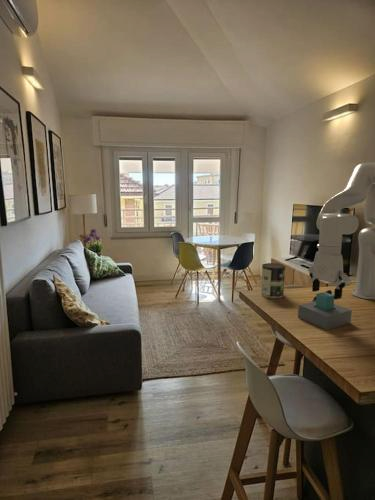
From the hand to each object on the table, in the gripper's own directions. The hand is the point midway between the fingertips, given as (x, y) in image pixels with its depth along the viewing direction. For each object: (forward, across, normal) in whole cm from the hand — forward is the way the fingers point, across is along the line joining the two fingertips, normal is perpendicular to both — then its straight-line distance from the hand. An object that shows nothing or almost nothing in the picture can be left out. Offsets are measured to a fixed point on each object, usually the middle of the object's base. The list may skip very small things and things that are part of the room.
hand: (326, 294), depth 119 cm
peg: (+10, 0, -1) cm, 10 cm away
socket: (+10, 0, -1) cm, 10 cm away
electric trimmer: (+11, -16, +19) cm, 27 cm away
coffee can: (+10, -32, +3) cm, 33 cm away
